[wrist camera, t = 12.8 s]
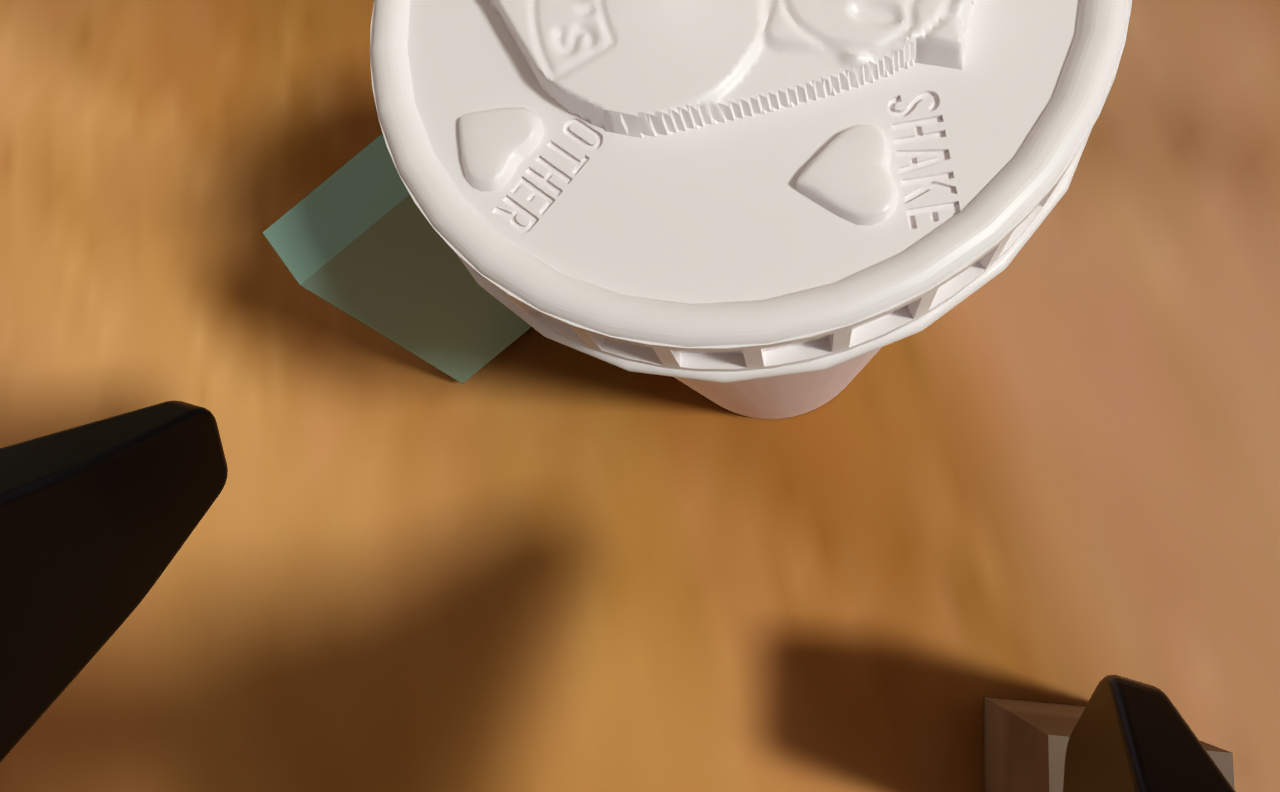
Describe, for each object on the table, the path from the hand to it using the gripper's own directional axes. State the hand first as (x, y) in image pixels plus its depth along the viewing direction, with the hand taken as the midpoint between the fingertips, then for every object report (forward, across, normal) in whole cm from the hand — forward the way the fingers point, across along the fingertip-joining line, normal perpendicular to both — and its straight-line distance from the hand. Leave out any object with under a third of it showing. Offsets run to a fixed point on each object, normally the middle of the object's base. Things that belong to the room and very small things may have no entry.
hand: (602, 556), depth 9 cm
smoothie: (+9, 0, +2) cm, 9 cm away
